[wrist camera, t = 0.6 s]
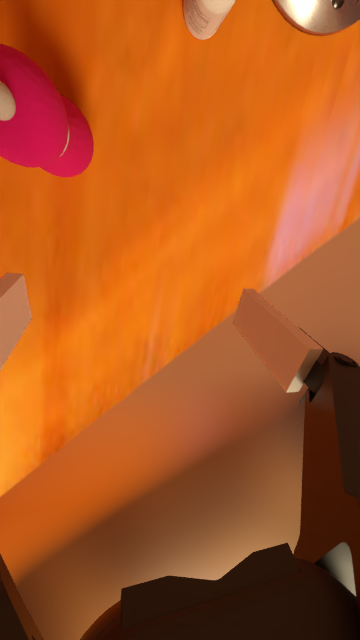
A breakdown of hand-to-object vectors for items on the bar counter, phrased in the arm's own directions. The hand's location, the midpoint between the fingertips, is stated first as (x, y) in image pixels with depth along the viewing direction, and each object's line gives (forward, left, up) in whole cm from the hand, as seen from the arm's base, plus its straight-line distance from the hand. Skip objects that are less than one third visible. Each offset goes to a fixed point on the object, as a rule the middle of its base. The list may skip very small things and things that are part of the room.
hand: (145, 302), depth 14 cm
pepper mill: (-11, -4, -25) cm, 28 cm away
